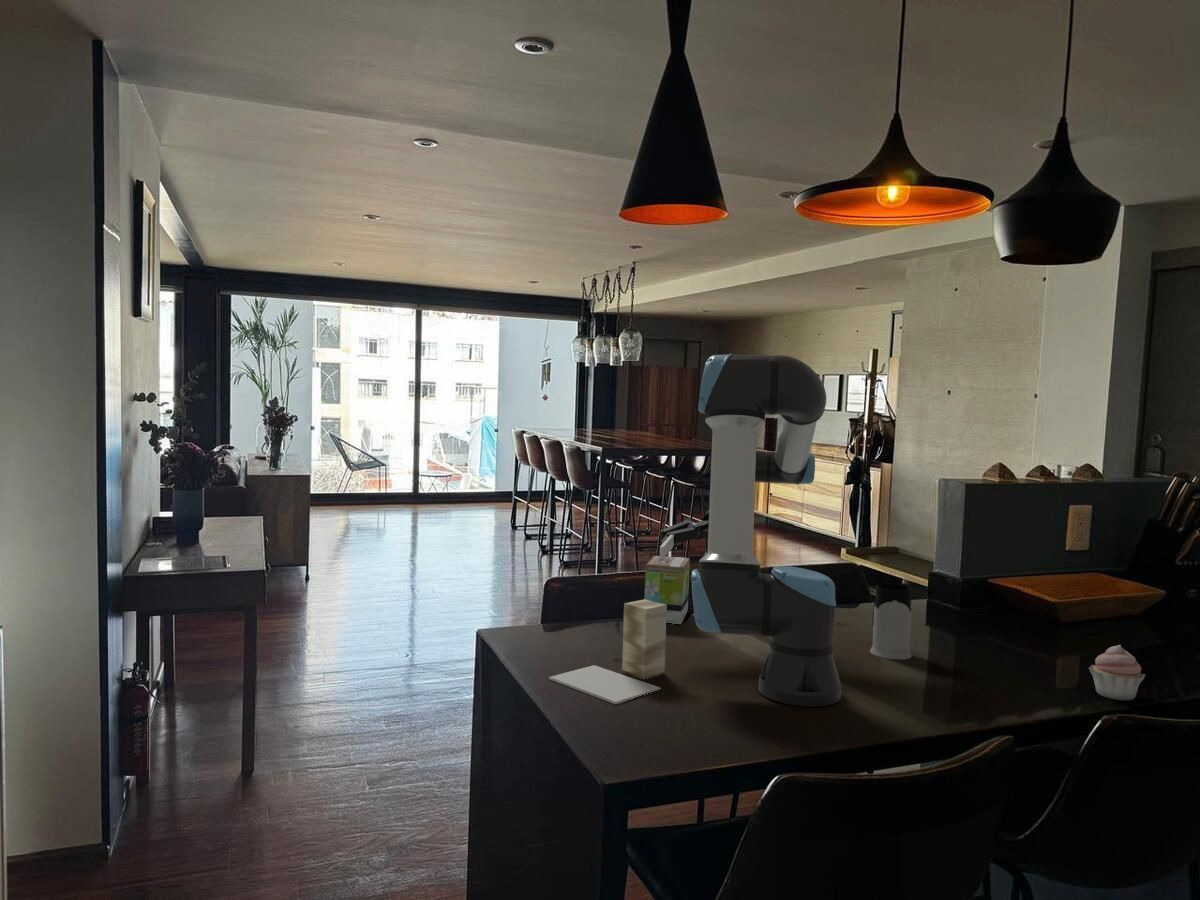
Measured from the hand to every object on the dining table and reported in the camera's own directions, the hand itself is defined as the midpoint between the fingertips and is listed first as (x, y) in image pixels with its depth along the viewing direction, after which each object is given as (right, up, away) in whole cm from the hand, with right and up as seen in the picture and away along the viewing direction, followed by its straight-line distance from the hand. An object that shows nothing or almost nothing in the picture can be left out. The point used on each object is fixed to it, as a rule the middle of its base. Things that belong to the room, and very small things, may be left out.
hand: (691, 558), depth 178 cm
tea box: (-2, -20, +37) cm, 42 cm away
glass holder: (+46, -22, +11) cm, 53 cm away
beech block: (-11, -22, -11) cm, 26 cm away
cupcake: (+80, -25, -16) cm, 85 cm away
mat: (-19, -22, -18) cm, 34 cm away
